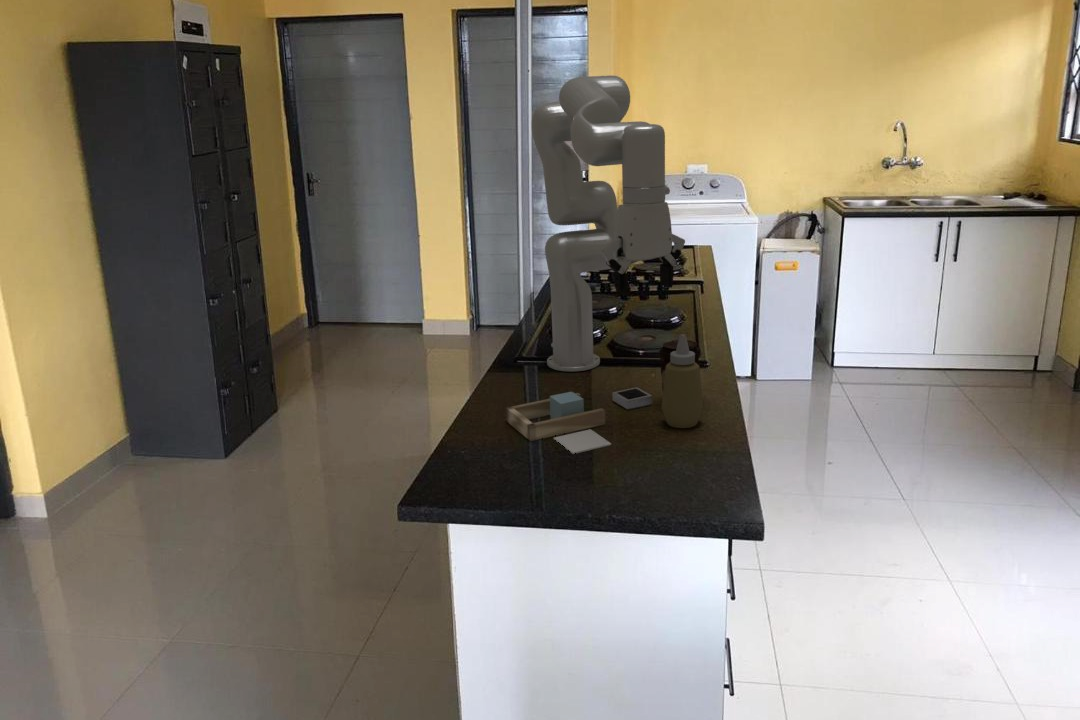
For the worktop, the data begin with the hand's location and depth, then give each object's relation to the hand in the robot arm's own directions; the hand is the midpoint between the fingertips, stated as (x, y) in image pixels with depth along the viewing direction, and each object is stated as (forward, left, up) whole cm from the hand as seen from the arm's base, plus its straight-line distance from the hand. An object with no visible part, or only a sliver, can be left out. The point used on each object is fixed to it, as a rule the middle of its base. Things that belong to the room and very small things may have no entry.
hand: (644, 289), depth 160 cm
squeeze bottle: (+2, +7, -28) cm, 28 cm away
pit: (-12, +5, -27) cm, 30 cm away
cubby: (-11, -13, -27) cm, 32 cm away
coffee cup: (-7, +13, -28) cm, 31 cm away
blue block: (-11, -11, -28) cm, 32 cm away
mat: (0, -14, -27) cm, 31 cm away
